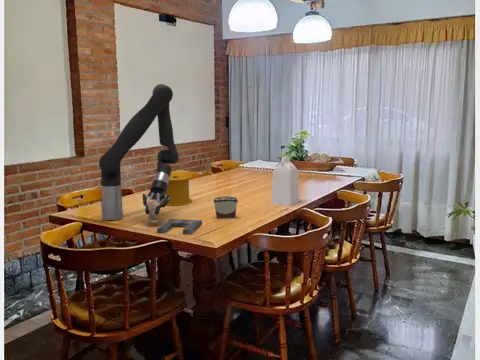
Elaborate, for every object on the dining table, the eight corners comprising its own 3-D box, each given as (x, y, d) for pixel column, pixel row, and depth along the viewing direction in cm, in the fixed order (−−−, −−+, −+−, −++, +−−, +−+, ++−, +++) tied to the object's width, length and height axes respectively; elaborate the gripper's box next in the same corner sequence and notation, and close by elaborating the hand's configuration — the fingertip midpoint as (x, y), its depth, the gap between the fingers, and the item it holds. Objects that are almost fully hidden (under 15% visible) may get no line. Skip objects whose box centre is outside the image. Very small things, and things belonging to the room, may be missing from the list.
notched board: (157, 232, 197) (156, 228, 197) (169, 222, 213) (169, 218, 212) (191, 234, 194) (191, 230, 194) (202, 224, 209) (201, 220, 209)
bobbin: (146, 222, 207) (145, 201, 205) (150, 219, 212) (149, 199, 210) (156, 222, 206) (155, 202, 204) (160, 220, 211) (159, 199, 209)
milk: (280, 199, 259) (280, 155, 254) (298, 201, 253) (299, 156, 248) (271, 203, 248) (271, 157, 244) (290, 206, 243) (290, 159, 238)
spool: (186, 206, 245) (185, 180, 242) (155, 205, 249) (154, 179, 246) (195, 199, 262) (195, 174, 260) (167, 198, 266) (166, 174, 263)
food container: (238, 215, 225) (237, 195, 224) (238, 218, 219) (238, 198, 218) (213, 215, 225) (213, 196, 223) (213, 218, 219) (213, 199, 217)
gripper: (144, 178, 214) (134, 209, 205) (172, 179, 211) (163, 210, 202) (148, 187, 220) (139, 217, 211) (176, 188, 217) (168, 218, 208)
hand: (151, 213), depth 206 cm, fingers closed on bobbin, 4 cm apart
